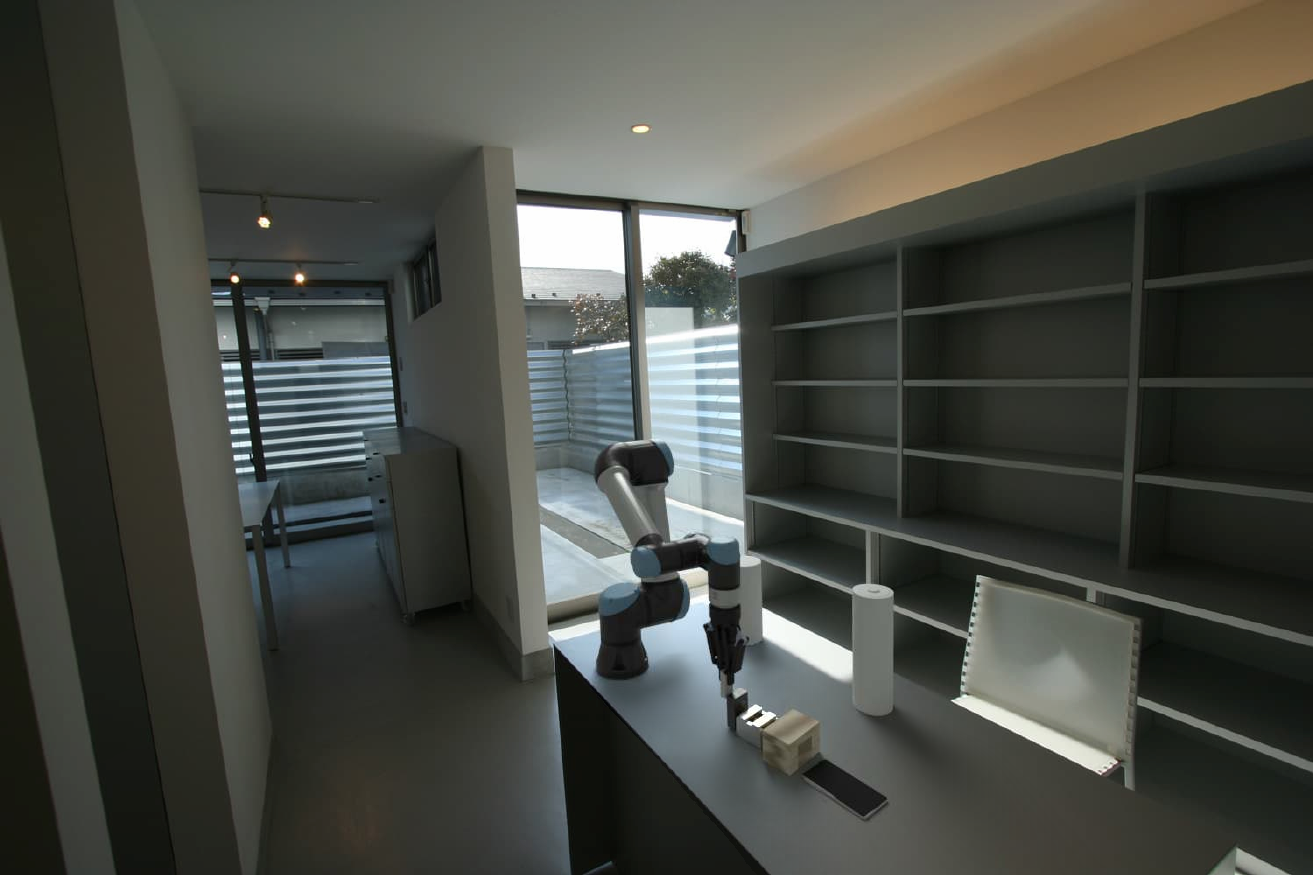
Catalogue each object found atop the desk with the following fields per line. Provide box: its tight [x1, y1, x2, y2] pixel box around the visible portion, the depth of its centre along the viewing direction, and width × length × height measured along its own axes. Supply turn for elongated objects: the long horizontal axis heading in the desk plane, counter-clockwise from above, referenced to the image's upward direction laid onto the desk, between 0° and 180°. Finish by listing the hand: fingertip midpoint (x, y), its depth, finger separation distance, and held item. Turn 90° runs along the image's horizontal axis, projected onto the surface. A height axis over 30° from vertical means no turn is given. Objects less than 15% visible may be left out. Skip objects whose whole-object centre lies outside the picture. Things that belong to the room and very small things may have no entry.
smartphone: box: [802, 759, 888, 821], centre depth 119 cm, size 8×1×15 cm
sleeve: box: [736, 704, 779, 751], centre depth 137 cm, size 7×6×5 cm
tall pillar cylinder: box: [735, 554, 764, 647], centre depth 185 cm, size 11×11×25 cm
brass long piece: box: [726, 687, 771, 731], centre depth 135 cm, size 18×5×8 cm, turn 41°
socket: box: [762, 708, 821, 777], centre depth 130 cm, size 7×11×7 cm, turn 131°
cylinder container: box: [851, 583, 895, 717], centre depth 146 cm, size 9×9×30 cm
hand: (727, 695), depth 143 cm, fingers closed
